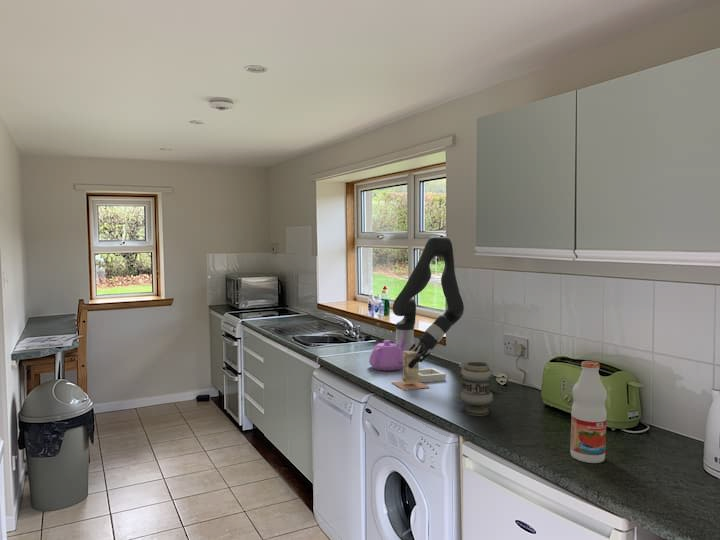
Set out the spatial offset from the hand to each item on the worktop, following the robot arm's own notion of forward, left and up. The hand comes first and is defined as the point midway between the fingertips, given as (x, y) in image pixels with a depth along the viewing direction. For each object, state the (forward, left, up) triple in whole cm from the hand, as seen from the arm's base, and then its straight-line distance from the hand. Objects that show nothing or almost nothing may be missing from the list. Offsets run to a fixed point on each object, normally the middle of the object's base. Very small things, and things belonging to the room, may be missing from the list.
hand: (406, 365), depth 233 cm
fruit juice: (+87, +18, -9) cm, 89 cm away
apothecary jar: (+40, +10, -9) cm, 42 cm away
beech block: (0, +2, -7) cm, 7 cm away
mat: (0, +2, -9) cm, 9 cm away
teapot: (-31, +6, -9) cm, 33 cm away
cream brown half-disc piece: (+9, +27, -9) cm, 30 cm away
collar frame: (-9, +15, -9) cm, 20 cm away
